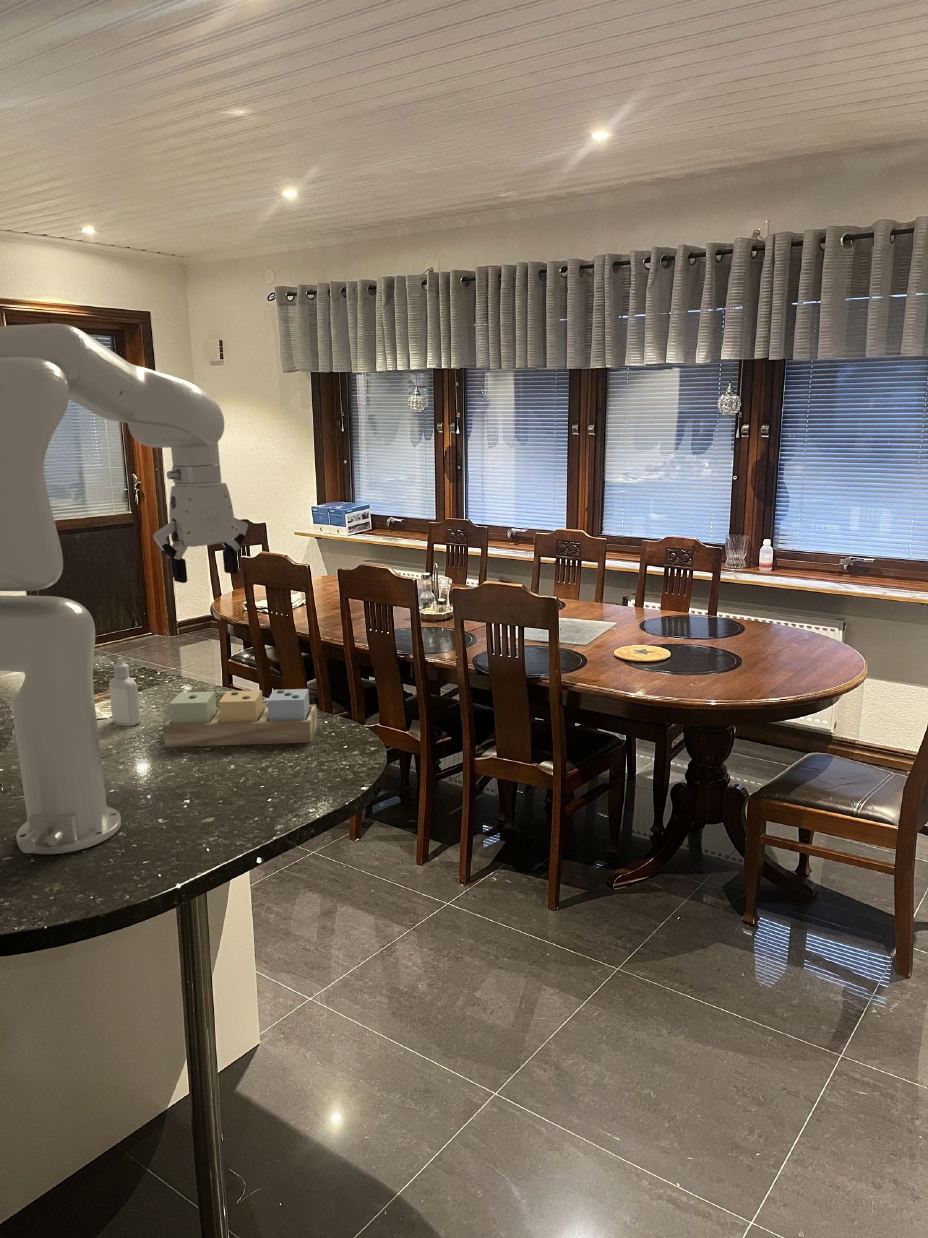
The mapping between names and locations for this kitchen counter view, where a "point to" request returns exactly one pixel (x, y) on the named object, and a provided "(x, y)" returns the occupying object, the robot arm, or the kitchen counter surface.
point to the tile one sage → (193, 707)
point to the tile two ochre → (241, 706)
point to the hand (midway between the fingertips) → (206, 577)
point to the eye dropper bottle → (124, 696)
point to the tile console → (241, 731)
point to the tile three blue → (288, 704)
